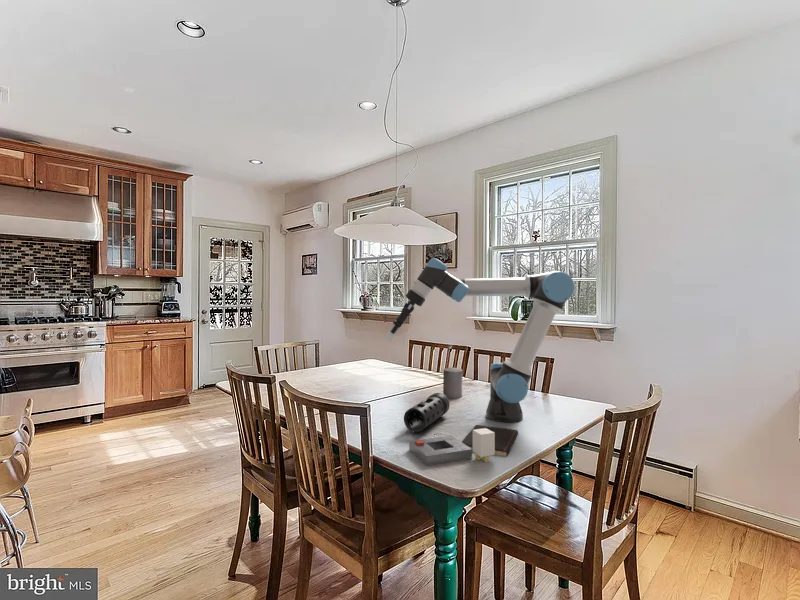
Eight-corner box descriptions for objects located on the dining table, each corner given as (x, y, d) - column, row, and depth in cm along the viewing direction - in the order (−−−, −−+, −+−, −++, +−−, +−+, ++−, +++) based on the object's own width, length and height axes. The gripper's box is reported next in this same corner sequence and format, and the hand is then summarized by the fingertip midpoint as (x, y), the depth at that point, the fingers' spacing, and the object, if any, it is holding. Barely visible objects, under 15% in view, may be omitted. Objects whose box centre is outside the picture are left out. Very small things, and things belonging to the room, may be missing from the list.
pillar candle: (439, 395, 222) (439, 366, 221) (455, 392, 226) (455, 364, 225) (449, 399, 213) (449, 369, 212) (466, 397, 217) (466, 367, 217)
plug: (485, 455, 141) (485, 428, 141) (494, 461, 136) (494, 432, 136) (472, 457, 139) (472, 429, 139) (480, 463, 134) (481, 434, 134)
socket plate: (451, 443, 152) (451, 433, 151) (472, 458, 138) (472, 446, 138) (409, 450, 146) (409, 438, 146) (426, 465, 133) (426, 453, 133)
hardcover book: (459, 450, 147) (459, 444, 147) (475, 430, 168) (475, 424, 168) (507, 458, 140) (507, 451, 140) (518, 436, 161) (518, 429, 161)
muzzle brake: (402, 433, 163) (402, 406, 163) (430, 414, 188) (430, 390, 188) (426, 437, 159) (426, 409, 159) (451, 416, 184) (451, 392, 184)
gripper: (411, 287, 184) (383, 328, 186) (410, 289, 159) (378, 336, 161) (425, 297, 184) (397, 338, 186) (426, 300, 159) (394, 347, 161)
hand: (388, 337), depth 173 cm, fingers open, 13 cm apart
